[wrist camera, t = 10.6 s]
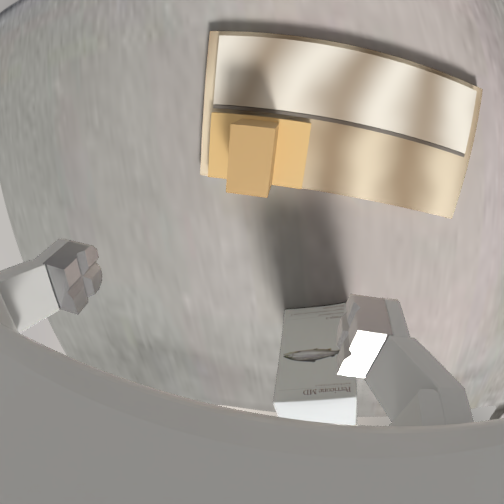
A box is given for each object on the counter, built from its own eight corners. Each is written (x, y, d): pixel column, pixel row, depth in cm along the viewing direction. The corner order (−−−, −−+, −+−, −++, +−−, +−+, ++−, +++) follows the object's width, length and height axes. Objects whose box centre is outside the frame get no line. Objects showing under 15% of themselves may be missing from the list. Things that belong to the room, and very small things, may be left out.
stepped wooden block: (311, 122, 23) (313, 130, 19) (301, 187, 26) (301, 207, 22) (213, 111, 23) (195, 117, 20) (209, 174, 26) (193, 192, 22)
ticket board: (477, 88, 19) (485, 89, 18) (447, 214, 26) (454, 221, 24) (213, 32, 21) (207, 30, 20) (203, 171, 28) (198, 176, 26)
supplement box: (349, 299, 32) (360, 396, 22) (350, 345, 36) (357, 434, 25) (283, 307, 34) (270, 402, 23) (292, 350, 38) (284, 438, 27)
